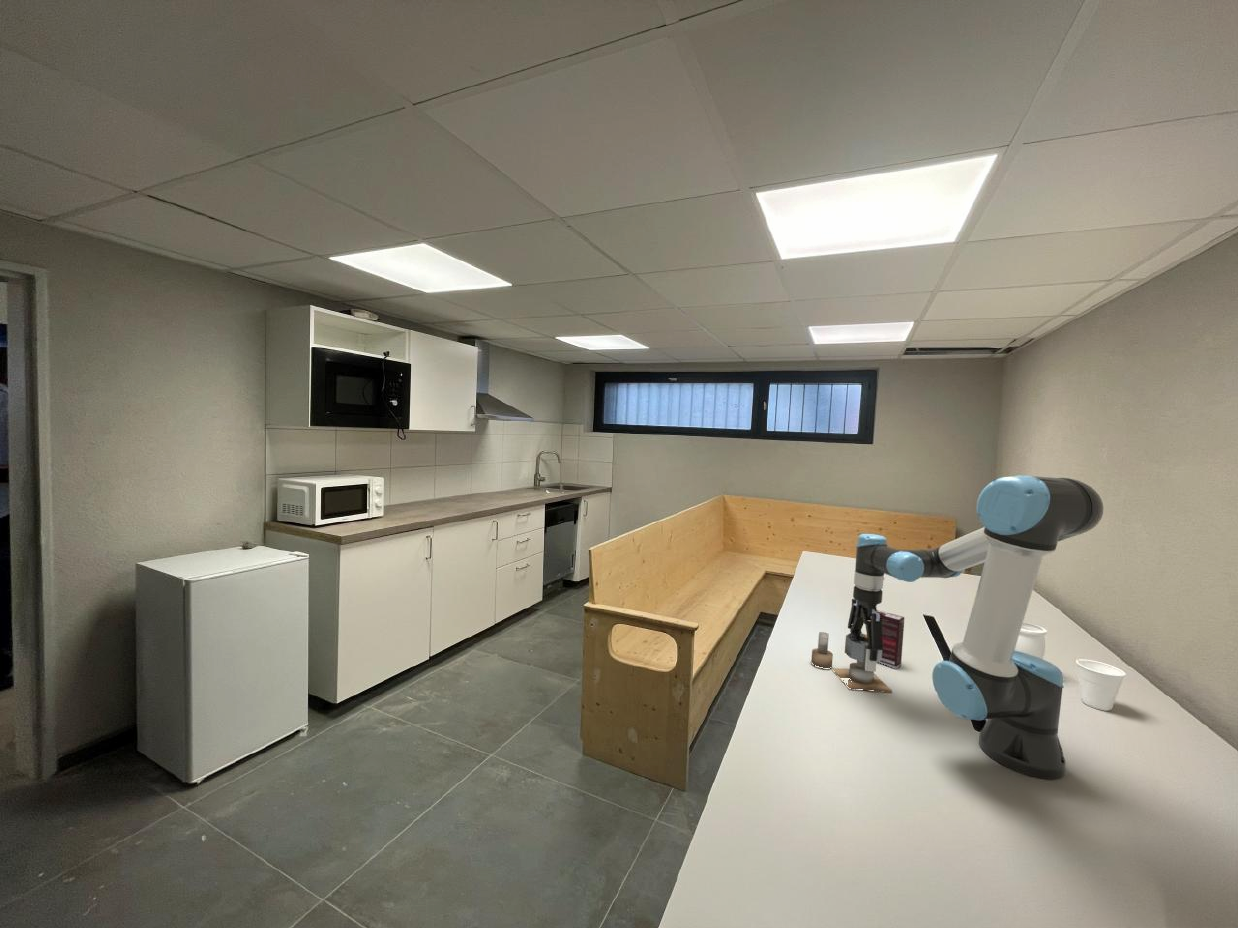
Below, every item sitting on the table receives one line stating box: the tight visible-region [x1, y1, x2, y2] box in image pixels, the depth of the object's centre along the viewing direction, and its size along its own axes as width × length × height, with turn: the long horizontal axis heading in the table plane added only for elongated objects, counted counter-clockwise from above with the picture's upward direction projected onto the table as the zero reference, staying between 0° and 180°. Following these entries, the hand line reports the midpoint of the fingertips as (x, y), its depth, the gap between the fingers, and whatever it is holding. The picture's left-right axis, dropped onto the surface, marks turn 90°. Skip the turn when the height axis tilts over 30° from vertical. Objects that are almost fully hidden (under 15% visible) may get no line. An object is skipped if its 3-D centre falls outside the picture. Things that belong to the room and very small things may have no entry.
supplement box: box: [877, 609, 905, 670], centre depth 156 cm, size 9×5×16 cm, turn 43°
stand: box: [810, 631, 834, 668], centre depth 151 cm, size 6×6×10 cm
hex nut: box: [844, 632, 882, 664], centre depth 142 cm, size 9×9×5 cm
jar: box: [1015, 621, 1048, 660], centre depth 154 cm, size 11×10×15 cm
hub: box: [831, 660, 893, 693], centre depth 142 cm, size 12×12×8 cm
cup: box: [1075, 658, 1127, 712], centre depth 135 cm, size 10×10×11 cm
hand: (862, 662), depth 142 cm, fingers closed on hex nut, 9 cm apart
